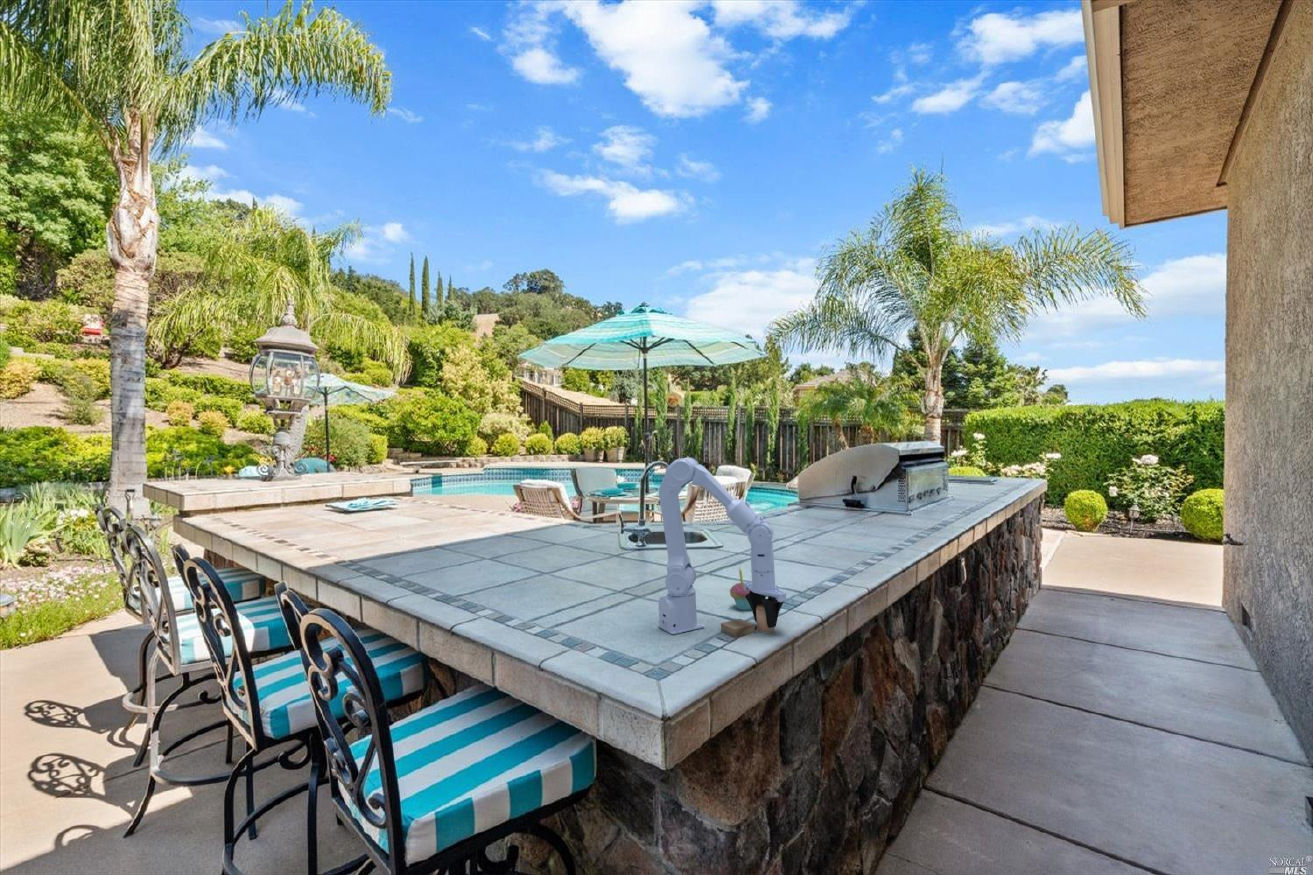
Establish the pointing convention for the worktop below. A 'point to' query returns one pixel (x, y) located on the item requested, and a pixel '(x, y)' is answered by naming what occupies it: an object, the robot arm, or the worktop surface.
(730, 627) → the base
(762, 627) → the jar
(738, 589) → the cupcake
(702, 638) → the worktop surface
